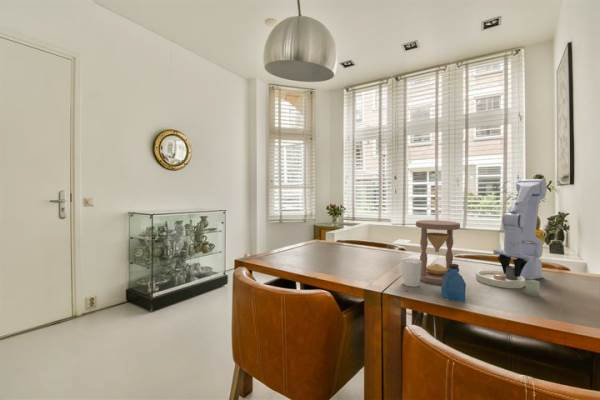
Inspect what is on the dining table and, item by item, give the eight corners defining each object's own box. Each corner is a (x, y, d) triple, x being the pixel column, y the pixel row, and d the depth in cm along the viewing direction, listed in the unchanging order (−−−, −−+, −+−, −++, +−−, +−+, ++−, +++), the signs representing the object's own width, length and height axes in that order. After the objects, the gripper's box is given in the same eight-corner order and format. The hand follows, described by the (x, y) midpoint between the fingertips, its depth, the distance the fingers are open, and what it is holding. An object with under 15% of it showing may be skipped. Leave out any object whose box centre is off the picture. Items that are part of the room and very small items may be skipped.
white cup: (421, 282, 123) (422, 259, 123) (420, 288, 116) (421, 263, 116) (402, 280, 127) (402, 257, 126) (400, 285, 119) (400, 261, 119)
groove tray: (493, 273, 136) (493, 268, 136) (534, 285, 120) (534, 279, 120) (467, 277, 130) (467, 272, 130) (506, 290, 114) (506, 284, 114)
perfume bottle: (465, 301, 103) (466, 267, 103) (446, 299, 105) (447, 266, 104) (459, 294, 109) (460, 263, 109) (441, 293, 111) (442, 262, 110)
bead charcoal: (509, 277, 123) (510, 265, 123) (519, 279, 119) (520, 267, 119) (503, 278, 121) (503, 266, 121) (513, 280, 118) (513, 268, 118)
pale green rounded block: (529, 292, 112) (530, 279, 112) (541, 295, 108) (542, 282, 108) (523, 293, 111) (523, 280, 111) (534, 297, 107) (535, 283, 107)
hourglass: (445, 272, 138) (446, 220, 137) (467, 284, 120) (469, 224, 119) (408, 272, 138) (409, 220, 137) (425, 285, 120) (426, 224, 119)
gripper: (488, 240, 125) (487, 271, 126) (525, 246, 112) (524, 281, 112) (499, 238, 128) (499, 269, 128) (537, 244, 114) (536, 279, 115)
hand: (511, 275), depth 120 cm, fingers closed on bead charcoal, 4 cm apart
